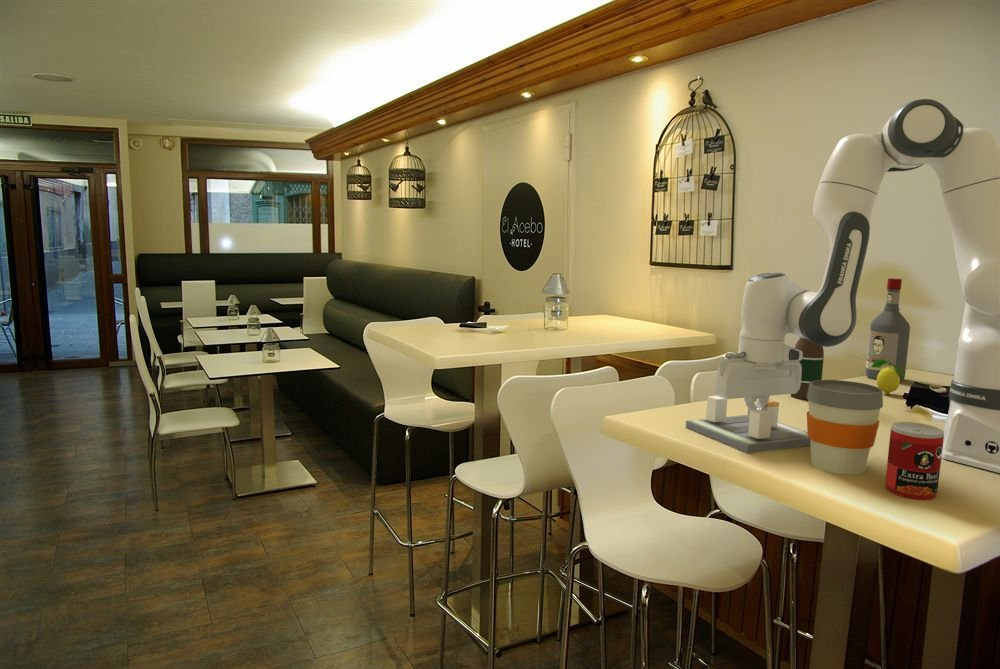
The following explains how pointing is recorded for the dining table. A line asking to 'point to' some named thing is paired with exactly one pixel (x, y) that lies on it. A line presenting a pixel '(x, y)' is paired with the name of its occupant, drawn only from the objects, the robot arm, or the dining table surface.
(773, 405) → the block
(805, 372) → the beer bottle
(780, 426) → the panel
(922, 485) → the canned food
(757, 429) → the block
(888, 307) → the liquor
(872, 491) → the dining table surface
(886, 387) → the lemon
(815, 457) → the reusable coffee cup
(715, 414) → the block
